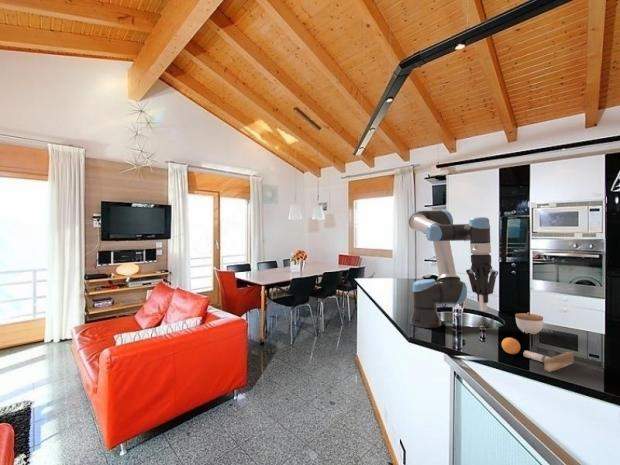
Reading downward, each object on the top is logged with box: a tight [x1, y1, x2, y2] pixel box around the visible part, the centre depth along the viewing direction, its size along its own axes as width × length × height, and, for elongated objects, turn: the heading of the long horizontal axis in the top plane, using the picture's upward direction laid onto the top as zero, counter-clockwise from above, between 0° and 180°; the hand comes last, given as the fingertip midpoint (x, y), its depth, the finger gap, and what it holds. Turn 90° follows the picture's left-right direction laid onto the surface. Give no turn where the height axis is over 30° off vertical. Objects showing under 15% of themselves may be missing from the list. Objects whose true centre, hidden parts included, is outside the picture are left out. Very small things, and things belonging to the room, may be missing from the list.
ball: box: [501, 337, 521, 355], centre depth 115 cm, size 6×6×6 cm
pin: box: [522, 350, 552, 364], centre depth 108 cm, size 2×2×8 cm
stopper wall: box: [543, 351, 575, 373], centre depth 102 cm, size 2×16×4 cm, turn 117°
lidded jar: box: [514, 311, 544, 335], centre depth 142 cm, size 11×11×9 cm
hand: (483, 310), depth 126 cm, fingers closed
